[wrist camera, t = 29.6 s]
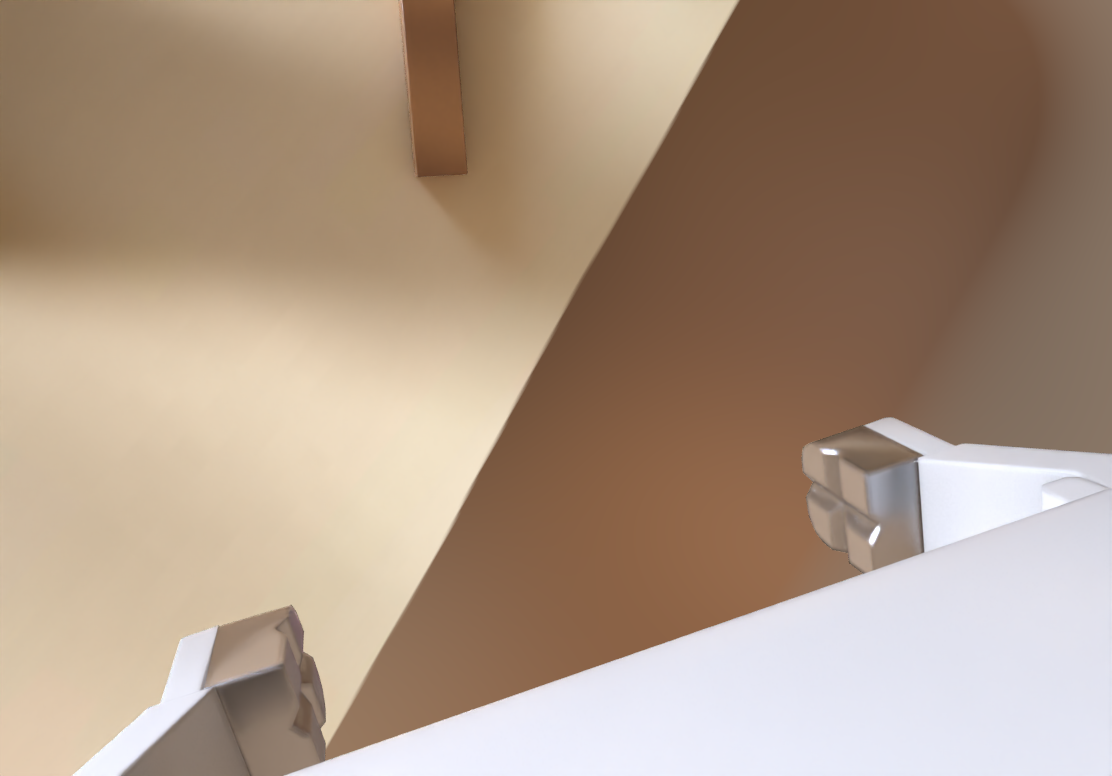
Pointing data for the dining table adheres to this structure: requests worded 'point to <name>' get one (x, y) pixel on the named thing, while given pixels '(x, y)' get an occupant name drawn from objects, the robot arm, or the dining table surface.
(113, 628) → the dining table surface
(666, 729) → the robot arm
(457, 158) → the copper canister handle
